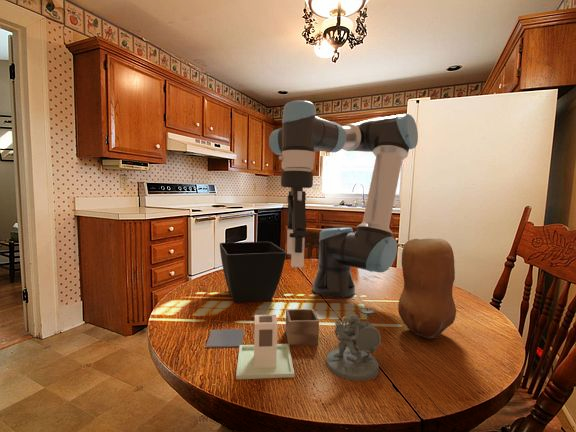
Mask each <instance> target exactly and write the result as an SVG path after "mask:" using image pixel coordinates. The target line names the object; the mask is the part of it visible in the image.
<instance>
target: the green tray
mask: <svg viewBox="0 0 576 432" xmlns="http://www.w3.org/2000/svg"><path fill="white" fill-rule="evenodd" d="M238 348H239V349H238V357H237V365H236V374H235V380H251V379H253V380H256V379H257V380H258V379H259V380H260V379H261V380H263V379H284V378H285V379H286V378H295V369H294V365H293V359H292V354H291V349H290V346H289V344H288V343H277V360H276V367H275V368H254V344H242V345H240V347H238Z"/></svg>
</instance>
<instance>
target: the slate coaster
mask: <svg viewBox="0 0 576 432" xmlns="http://www.w3.org/2000/svg"><path fill="white" fill-rule="evenodd" d="M244 331H245V330H244V329H243V328H240V329H239V328H234V329H233V328H231V329H230V328H229V329H227V328H226V329H225V328H224V329H211V330H210V333H209V336H208V339H207V342H206V345H205V348H206V349H217V348H218V349H219V348H221V349H224V348H239V347H240V345H243V340H244Z"/></svg>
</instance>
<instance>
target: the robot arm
mask: <svg viewBox="0 0 576 432" xmlns="http://www.w3.org/2000/svg"><path fill="white" fill-rule="evenodd" d="M316 115H317V112H316V106H315V104H314V103H313V102H311V101H308V100H302V99H301V100H300V99H299V100H293V101H288V102H287V103H285V105H284V106H283V111H282V119H281V124H282V126H281V127H280V128H277V129H275V130H273V131H271V133H270V135H269V137H268V138H269V139H268V142H269V143H268V145H269V148H270V150H271V152H273V154H275V155H277V156H278V155H279V157H278V159H279V160H280V161H281V169H282V171H281V172H280V185H281V187H282V188H290V191H288V195H287V198H286V199H287V221H286V225H287V226H286V227H287V233H286V235H287V236H286V255H290V267H291V268H304V267H305V241H306V240H305V239H306V237H307V235H308V231H307V221H306V220H307V217H306V216H307V215H306V214H307V213H306V195H307V193H306V191H304V189H310V188H313V187H314V186H313V185H314V173H313V172H312V171H313V170H314V164H315V163H314V162H315V153H316V152H326V153H337V152H339V151H341V150H344V151H346V152H365V153H367V152H368V153H369V152H371V153H373V155H374V156H375V160H374V161H375V162H374V165H373V171H372V175H371V181H370V183H369V188H368V189H369V190H368V194H367V200H366V203H365V209H364V213H363V219H362V222H361V223H359V224H358V225H357V226H356V230H355V232H354V230H353V227H332V228H323V229H321V230H320V232H319V239H318V265H317V266H318V269H317V271H316V274H315V277H314V280H313V282H312V290H313V292H314V293H315V294H317V295H319V296H323V297H327V298H335V299H336V298H337V299H340V298H343V299H344V298H348V297H349V298H350V297H351V296H353V295H355V293H356V292H355V291H356V290H355V289H356V285H355V282H354V278H353V275H352V274H353V273H352V272H351V271H352V269H351V268H355V269H360V270H365V271H367V272H373V273H386V271H388V270H389V269H390V268H391V267H392V265H393V264H394V261H395V260H396V257H397V254H398V253H397V252H398V247H397V246H398V243H397V240H396V239H395V238H394V237H393V236H394V235H393V231H392V230H391V229H390V225H391V224H390V223H391V219H392V215H393V208H394V203H395V199H396V193H397V187H398V183H399V179H400V172H401V169H402V162H403V160H405V159H406V158H407V157H408V156H409V151H410V150H412V149H415V148H416V147H417V145H418V141H419V134H418V133H419V131H418V127H417V123H416V121H415V119H414V117H413V116H412V114H409V113H403V114H402V113H401V114H399V113H398V114H396V115H390V116H384V117H376V118H370V119H366V120H362V121H359V122H355V123H346V124H344V125H343V126H342V125H341V124H339V123H337V122H335V121H330V120H327V119H324V118H321V117H319V116H316Z"/></svg>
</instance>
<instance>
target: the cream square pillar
mask: <svg viewBox="0 0 576 432" xmlns="http://www.w3.org/2000/svg"><path fill="white" fill-rule="evenodd" d="M277 344H278V319H277V314H255V315H254V323H253V345H254V368H275V367H276V360H277Z"/></svg>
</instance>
